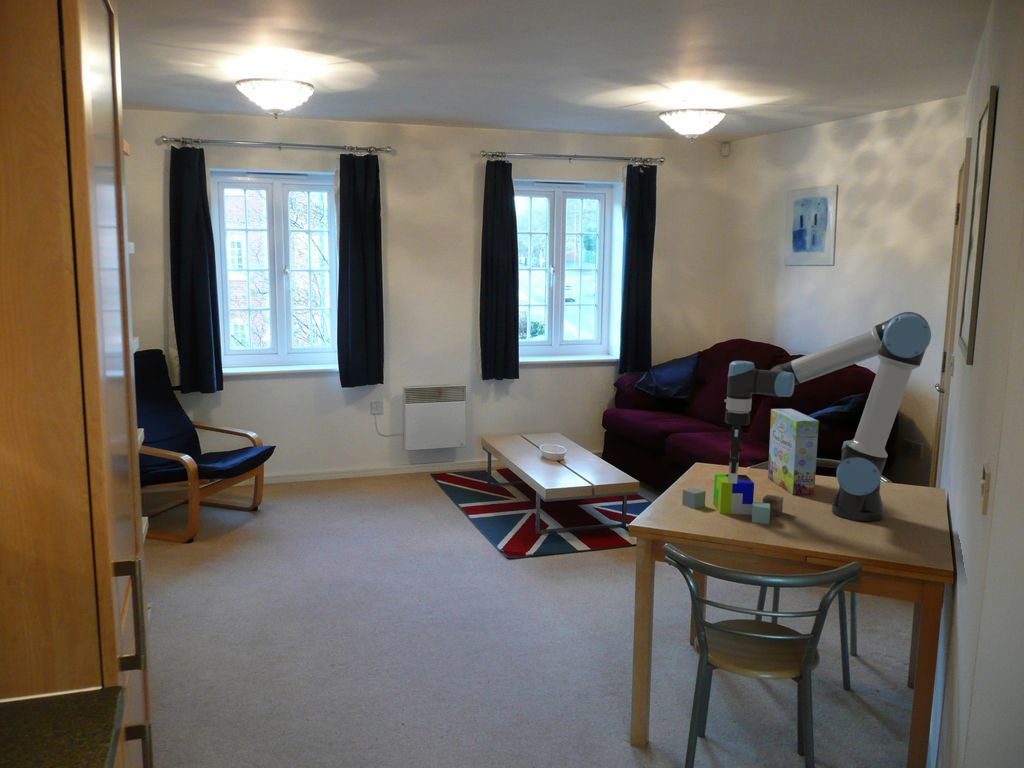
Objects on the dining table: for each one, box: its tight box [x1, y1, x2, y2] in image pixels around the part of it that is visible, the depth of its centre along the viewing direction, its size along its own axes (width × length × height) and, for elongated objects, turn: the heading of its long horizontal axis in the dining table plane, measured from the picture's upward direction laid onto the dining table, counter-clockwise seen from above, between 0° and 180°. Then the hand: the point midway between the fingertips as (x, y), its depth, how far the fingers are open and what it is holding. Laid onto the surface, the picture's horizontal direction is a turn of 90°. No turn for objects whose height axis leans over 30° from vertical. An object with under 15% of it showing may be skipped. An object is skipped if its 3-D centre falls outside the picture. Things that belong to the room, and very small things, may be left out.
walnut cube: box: [762, 494, 784, 517], centre depth 264 cm, size 5×5×5 cm
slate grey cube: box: [681, 487, 707, 510], centre depth 271 cm, size 5×5×5 cm
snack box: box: [767, 408, 820, 496], centre depth 294 cm, size 22×9×26 cm, turn 6°
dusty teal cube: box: [751, 501, 771, 525], centre depth 256 cm, size 5×5×5 cm
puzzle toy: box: [712, 473, 755, 515], centre depth 267 cm, size 10×10×10 cm
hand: (732, 477), depth 266 cm, fingers open, 13 cm apart
